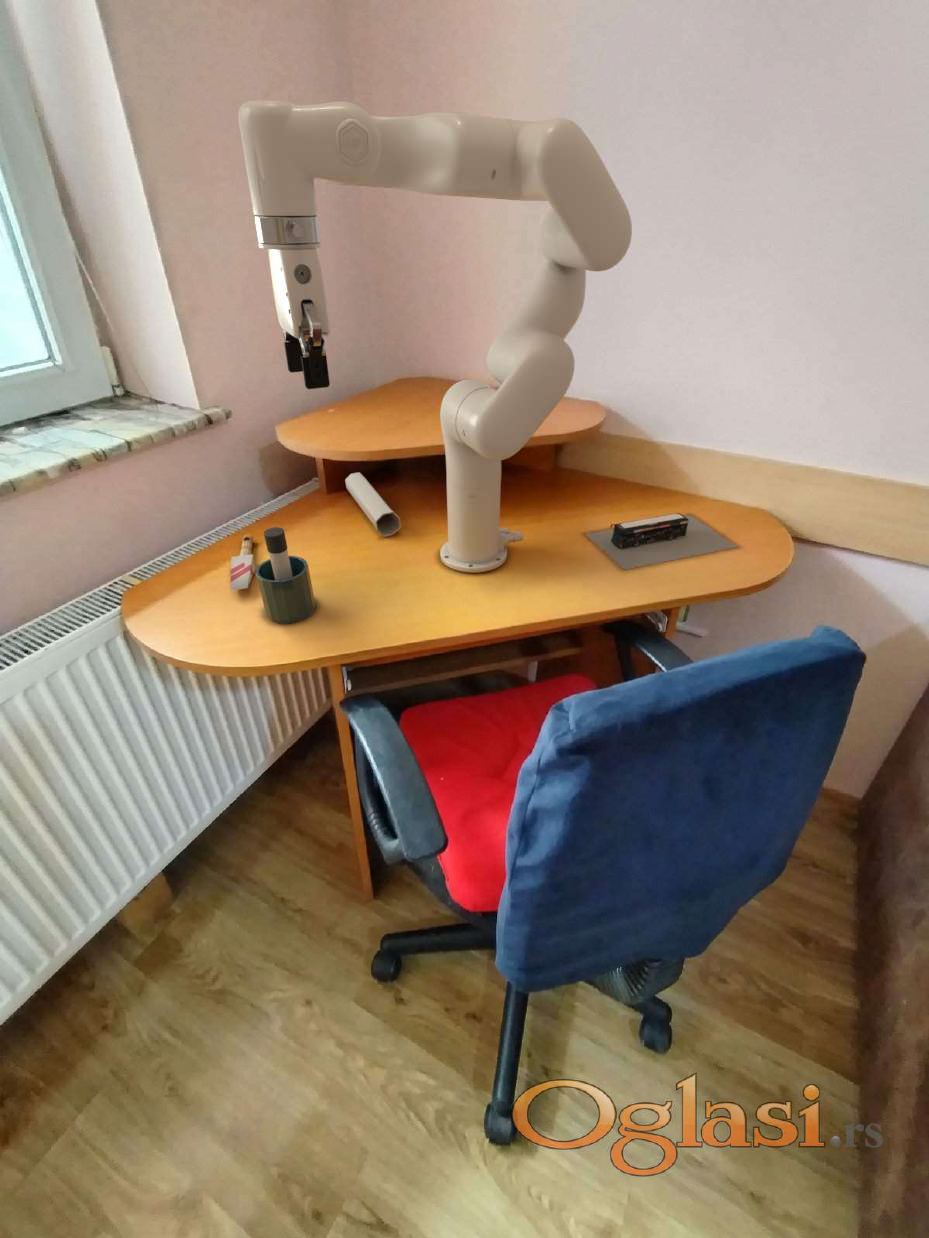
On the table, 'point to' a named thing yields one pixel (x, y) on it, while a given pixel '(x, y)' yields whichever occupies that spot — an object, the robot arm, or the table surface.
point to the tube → (373, 505)
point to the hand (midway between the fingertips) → (308, 379)
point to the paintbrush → (243, 565)
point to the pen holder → (286, 592)
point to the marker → (278, 553)
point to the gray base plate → (658, 540)
